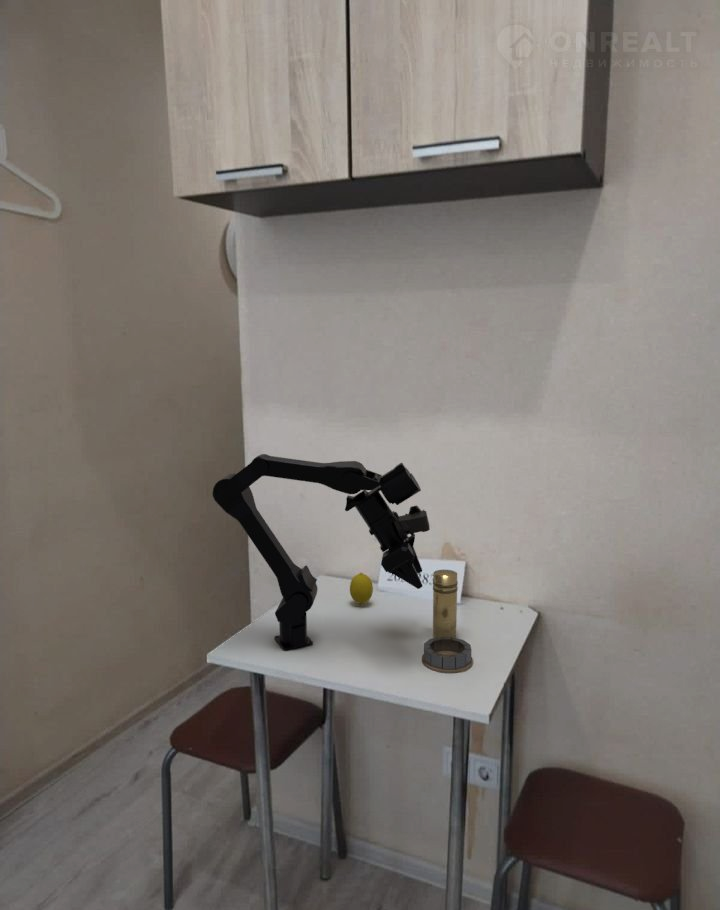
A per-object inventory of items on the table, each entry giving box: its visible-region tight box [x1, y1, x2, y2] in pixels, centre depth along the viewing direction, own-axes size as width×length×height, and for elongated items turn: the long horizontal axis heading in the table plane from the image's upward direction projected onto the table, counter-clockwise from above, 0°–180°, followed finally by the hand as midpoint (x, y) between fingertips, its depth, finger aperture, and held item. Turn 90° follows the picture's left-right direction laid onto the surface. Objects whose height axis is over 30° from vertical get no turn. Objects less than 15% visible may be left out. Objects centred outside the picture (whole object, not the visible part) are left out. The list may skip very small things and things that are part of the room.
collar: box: [423, 637, 472, 670], centre depth 132 cm, size 9×9×2 cm
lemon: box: [349, 572, 374, 606], centre depth 161 cm, size 6×6×8 cm
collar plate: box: [421, 651, 474, 674], centre depth 132 cm, size 10×10×1 cm
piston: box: [432, 569, 459, 638], centre depth 142 cm, size 5×5×14 cm
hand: (420, 579), depth 136 cm, fingers open, 9 cm apart
